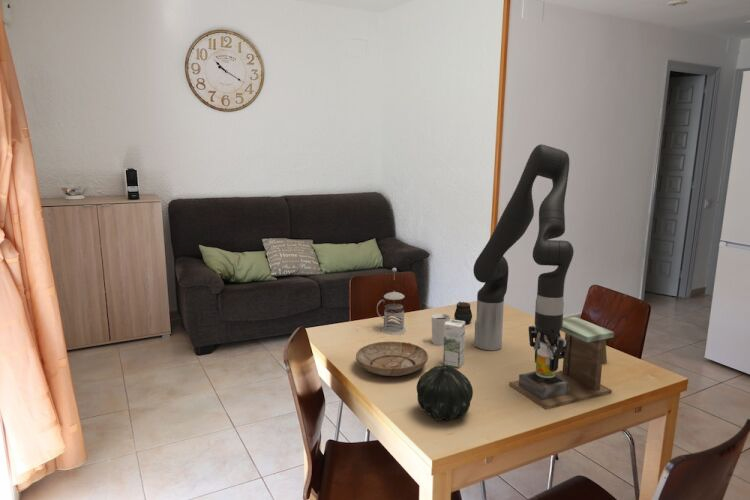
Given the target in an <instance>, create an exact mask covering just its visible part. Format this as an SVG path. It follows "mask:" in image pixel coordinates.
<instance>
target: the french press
mask: <svg viewBox="0 0 750 500" xmlns="http://www.w3.org/2000/svg"><path fill="white" fill-rule="evenodd" d="M391 271H392V272H393V279H395V278H396V277H395V275H396V274H395V272H397V271H398V270H397V268H396V267H393V268H391ZM383 298H384V299H383ZM383 298H382V299H380V300H379V301H378V302H377V305H376V313H377V315H378V316H379V317H380V318H381V319H383V328H381V332H382V333H384V334H385V335H386V334H387V335H393V336H394V335H401V334H405V333H407V329H406V327H405V309H404V305H402V304H400V303H388V304H386V305H384V312H383V313H384V316H382V315H381V314H380V312H379V309H378V307H379V305H380V304H381V302H383V304H385V301H386V300H387V301H388V300H389V301H399V300H403V299H404V298H405V295H404V294H403V293H401V292H398V291H391V292H387V293H385V294H384V295H383Z"/></svg>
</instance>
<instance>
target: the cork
mask: <svg viewBox="0 0 750 500" xmlns="http://www.w3.org/2000/svg"><path fill="white" fill-rule="evenodd" d="M607 357H608V355H607V339H604V349H603V360H602V365H605V364H607V363H608V360H607V359H608V358H607Z"/></svg>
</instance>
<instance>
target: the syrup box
mask: <svg viewBox="0 0 750 500" xmlns="http://www.w3.org/2000/svg"><path fill="white" fill-rule="evenodd" d="M465 337H466V324H465V321H460V320H455V319H452V318H450V319H448V320H447V321H446V322H445V324H444V345H443V356H442V359H443V361H442V362H443V363H442V364H443V365H445V366H450V367H452V368H456V369H457V368H458V369H460V368H461V367H462V365H463V364H464V363H465V344H466V343H465Z"/></svg>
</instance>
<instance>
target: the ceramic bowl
mask: <svg viewBox="0 0 750 500" xmlns="http://www.w3.org/2000/svg"><path fill="white" fill-rule="evenodd" d="M355 360H356V362H357V364H358V365H359V366H360V367H361V368H363V369H364V370H365V371H368V372H370V373H371V374H374V375H378V376H379V375H380V376H384V377H401V376H407V375H408V374H412V373H414V372H417V371H418V370H420V369H421V368H422V367H424V366H425V365H426V363H427V362H428V360H429V354H428V352H427V350H425V348H423V347H421V346H419V345H416V344H413V343H410V342H403V341H402V342H401V341H380V342H374V343H373V342H372V343H371V344H367V345H365V346H363V347H361V348H359V350H357V352H356V354H355Z"/></svg>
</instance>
